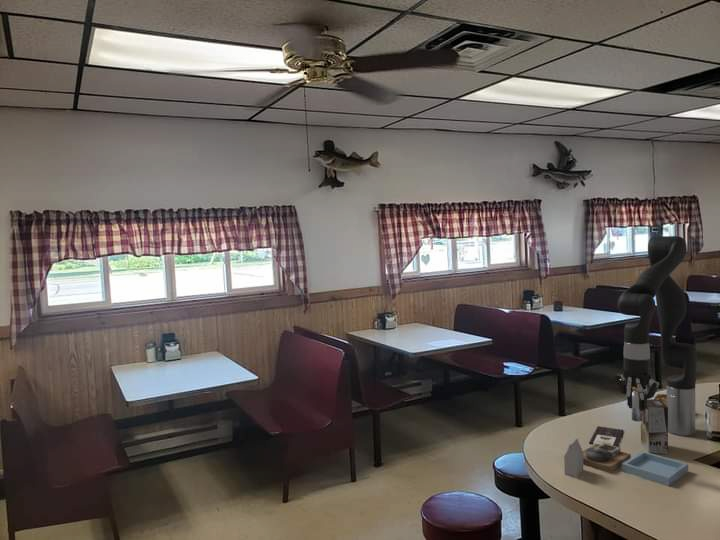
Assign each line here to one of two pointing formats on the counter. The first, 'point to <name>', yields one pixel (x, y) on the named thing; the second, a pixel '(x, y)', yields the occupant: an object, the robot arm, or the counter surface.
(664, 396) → the pastry
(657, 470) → the tray
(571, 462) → the grey house block
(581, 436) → the counter surface
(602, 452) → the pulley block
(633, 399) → the lock pin
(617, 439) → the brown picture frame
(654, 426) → the coffee box
